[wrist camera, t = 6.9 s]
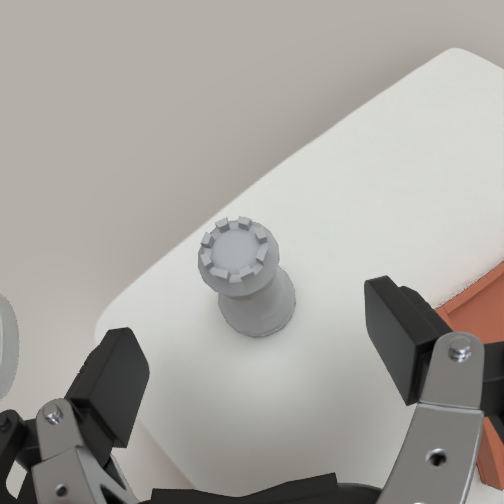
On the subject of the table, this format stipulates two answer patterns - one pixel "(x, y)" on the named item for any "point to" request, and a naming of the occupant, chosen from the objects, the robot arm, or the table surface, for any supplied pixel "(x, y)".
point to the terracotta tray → (488, 331)
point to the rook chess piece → (247, 276)
